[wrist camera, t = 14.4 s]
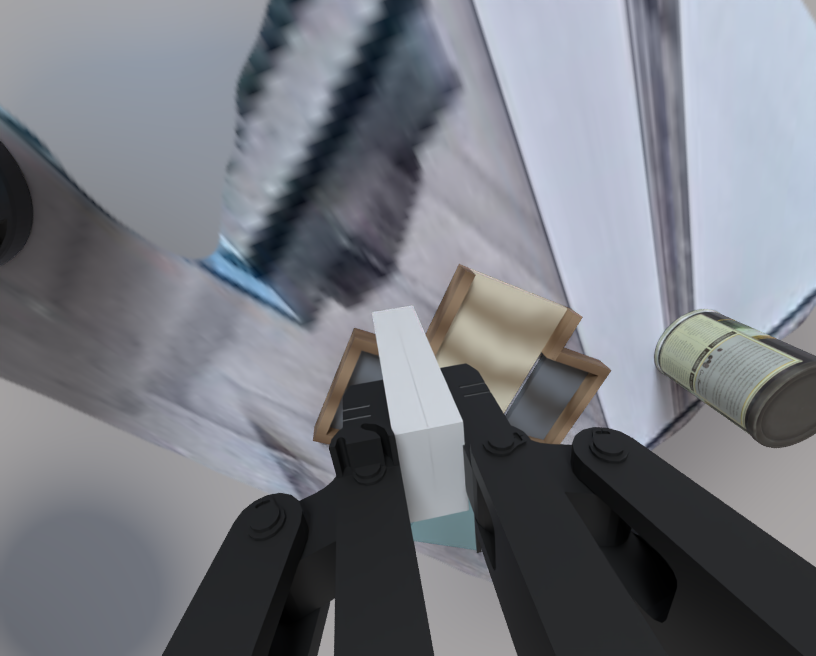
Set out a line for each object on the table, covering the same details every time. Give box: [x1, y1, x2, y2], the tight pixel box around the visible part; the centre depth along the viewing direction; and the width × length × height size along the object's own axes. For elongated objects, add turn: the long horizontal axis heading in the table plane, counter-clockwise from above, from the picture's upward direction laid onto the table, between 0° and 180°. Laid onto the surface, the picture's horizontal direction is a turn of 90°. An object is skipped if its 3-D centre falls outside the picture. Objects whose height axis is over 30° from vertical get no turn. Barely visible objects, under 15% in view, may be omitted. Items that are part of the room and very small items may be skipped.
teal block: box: [410, 498, 476, 550], centre depth 46 cm, size 9×9×11 cm
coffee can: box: [655, 309, 816, 448], centre depth 45 cm, size 10×10×14 cm
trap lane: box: [313, 264, 611, 444], centre depth 47 cm, size 29×31×4 cm
